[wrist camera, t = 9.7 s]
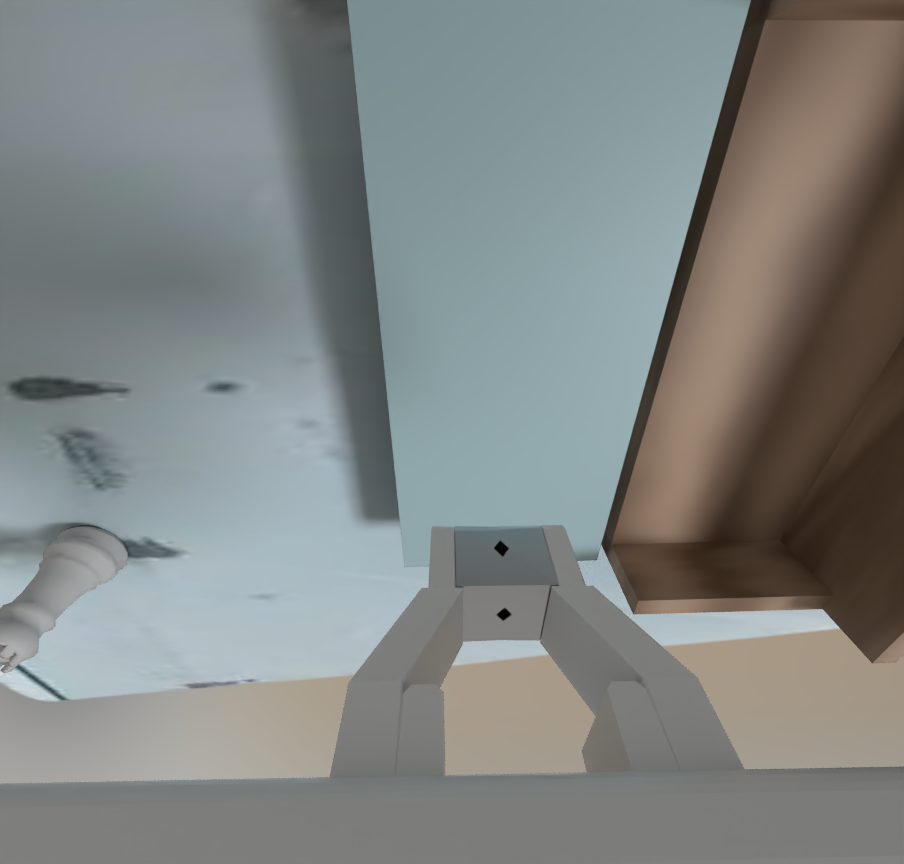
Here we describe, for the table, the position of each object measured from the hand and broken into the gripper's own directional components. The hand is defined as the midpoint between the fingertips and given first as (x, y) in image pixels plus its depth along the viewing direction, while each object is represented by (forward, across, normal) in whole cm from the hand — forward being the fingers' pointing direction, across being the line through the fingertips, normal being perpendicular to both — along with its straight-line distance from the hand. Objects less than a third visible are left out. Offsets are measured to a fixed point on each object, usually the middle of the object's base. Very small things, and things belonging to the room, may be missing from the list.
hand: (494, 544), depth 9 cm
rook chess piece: (+14, +26, +14) cm, 33 cm away
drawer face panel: (+11, -8, 0) cm, 14 cm away
